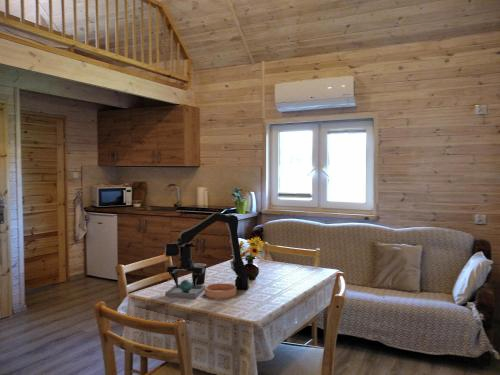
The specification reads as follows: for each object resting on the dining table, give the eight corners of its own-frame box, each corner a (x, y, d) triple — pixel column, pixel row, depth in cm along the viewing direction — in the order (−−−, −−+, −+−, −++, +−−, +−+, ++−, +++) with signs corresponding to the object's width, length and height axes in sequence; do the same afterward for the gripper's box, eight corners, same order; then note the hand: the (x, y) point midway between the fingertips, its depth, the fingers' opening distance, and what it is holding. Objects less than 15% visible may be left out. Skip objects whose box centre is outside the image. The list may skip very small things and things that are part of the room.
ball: (193, 290, 222) (193, 279, 222) (189, 293, 216) (189, 282, 216) (182, 289, 223) (182, 278, 223) (178, 293, 217) (178, 281, 217)
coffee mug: (203, 285, 233) (203, 267, 233) (188, 284, 235) (188, 266, 235) (209, 280, 245) (209, 262, 244) (195, 279, 247) (195, 262, 246)
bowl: (238, 290, 224) (238, 283, 224) (232, 299, 208) (232, 292, 208) (209, 289, 226) (209, 282, 226) (201, 297, 211) (201, 290, 211)
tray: (205, 289, 226) (205, 285, 226) (196, 298, 210) (196, 294, 210) (176, 287, 229) (176, 284, 229) (165, 296, 213) (165, 292, 213)
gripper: (207, 253, 225) (207, 282, 226) (173, 252, 228) (173, 281, 229) (201, 257, 214) (201, 288, 215) (165, 256, 217) (166, 286, 218)
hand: (185, 285), depth 219 cm, fingers open, 9 cm apart
